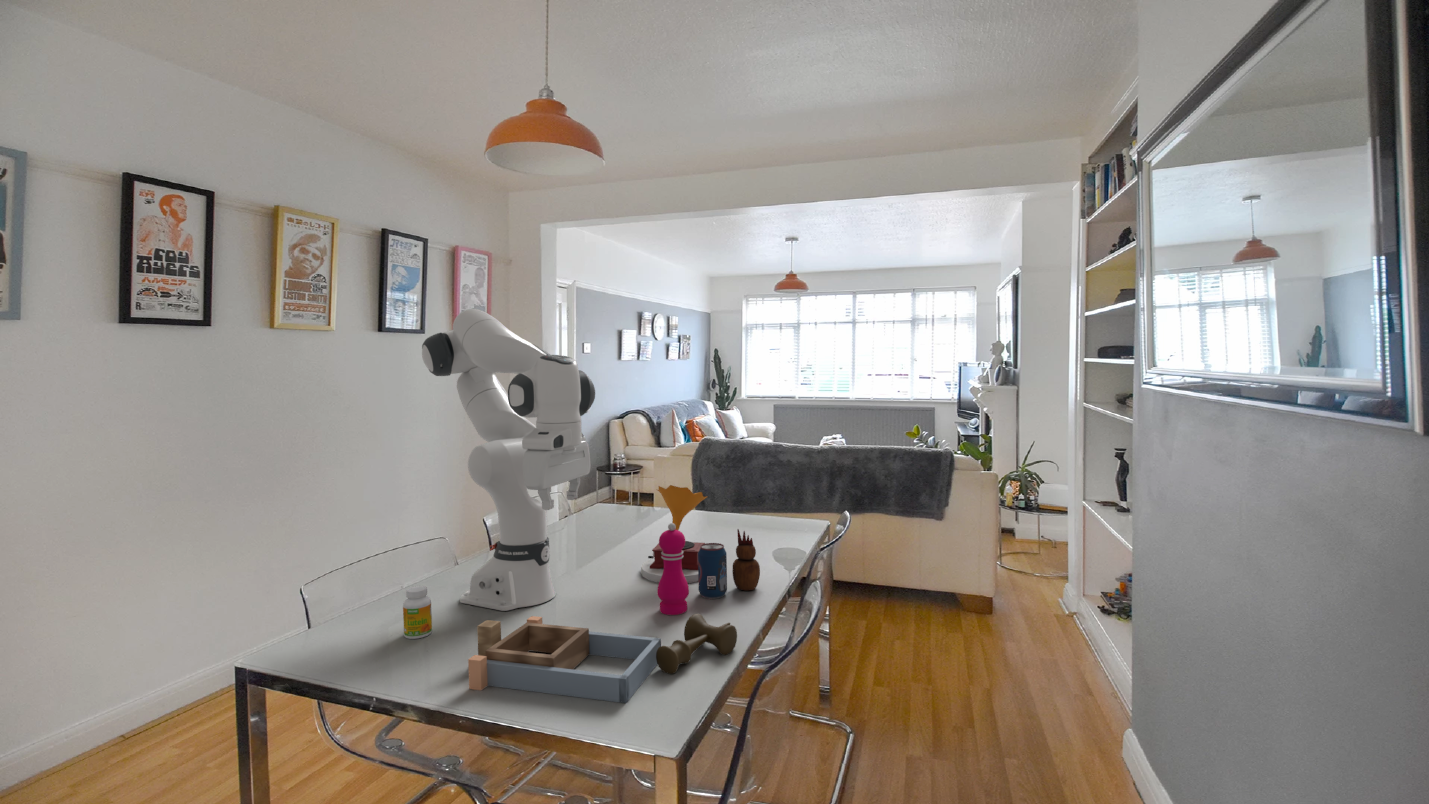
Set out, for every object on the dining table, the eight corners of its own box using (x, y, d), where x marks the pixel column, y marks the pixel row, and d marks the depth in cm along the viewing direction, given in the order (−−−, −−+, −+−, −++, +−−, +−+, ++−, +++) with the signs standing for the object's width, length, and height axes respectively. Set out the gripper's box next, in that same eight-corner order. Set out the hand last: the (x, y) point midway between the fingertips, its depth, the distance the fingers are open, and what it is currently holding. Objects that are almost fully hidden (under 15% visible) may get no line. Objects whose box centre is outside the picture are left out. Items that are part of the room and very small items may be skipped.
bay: (469, 688, 112) (468, 659, 111) (532, 641, 131) (531, 616, 131) (621, 708, 104) (621, 677, 104) (664, 655, 124) (664, 628, 124)
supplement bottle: (404, 641, 132) (402, 594, 132) (403, 632, 137) (401, 587, 137) (433, 636, 135) (431, 590, 134) (431, 627, 140) (429, 583, 139)
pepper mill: (685, 617, 143) (683, 527, 142) (653, 615, 145) (651, 526, 144) (692, 605, 150) (691, 520, 149) (662, 603, 152) (660, 519, 151)
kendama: (645, 669, 119) (711, 631, 135) (685, 685, 113) (749, 643, 129) (644, 638, 119) (711, 603, 135) (684, 652, 113) (749, 614, 129)
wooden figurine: (729, 590, 160) (728, 530, 159) (737, 583, 165) (736, 525, 165) (755, 594, 157) (754, 532, 157) (762, 586, 163) (762, 527, 162)
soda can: (700, 589, 161) (699, 542, 161) (728, 590, 160) (727, 542, 160) (697, 599, 154) (696, 549, 154) (726, 599, 154) (725, 549, 153)
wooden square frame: (460, 675, 116) (459, 637, 116) (503, 644, 129) (502, 610, 129) (554, 686, 111) (553, 646, 111) (589, 654, 124) (588, 618, 124)
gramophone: (709, 585, 165) (707, 487, 163) (631, 582, 168) (629, 486, 167) (722, 562, 185) (720, 475, 184) (652, 559, 188) (650, 474, 187)
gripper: (571, 430, 141) (572, 493, 142) (516, 441, 121) (518, 514, 122) (597, 431, 139) (598, 495, 140) (546, 442, 119) (547, 516, 120)
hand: (560, 504), depth 131 cm, fingers open, 8 cm apart
